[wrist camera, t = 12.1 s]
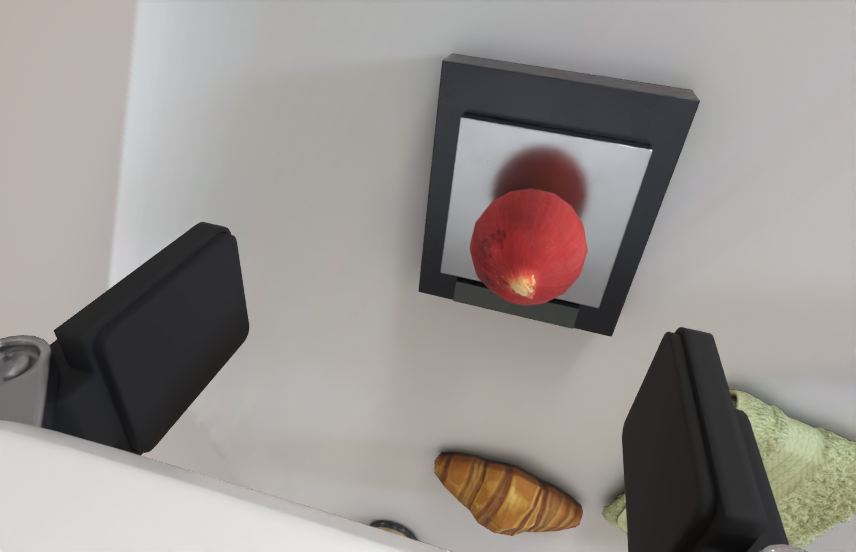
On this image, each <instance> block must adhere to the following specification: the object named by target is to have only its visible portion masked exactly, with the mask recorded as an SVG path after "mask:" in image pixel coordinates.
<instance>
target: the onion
mask: <svg viewBox="0 0 856 552" xmlns="http://www.w3.org/2000/svg"><path fill="white" fill-rule="evenodd" d="M587 251H588V249H587V242H586V236H585V229H584V226H583V223H582V222H581V220H580V218H579V217H578V215H577V214H576V212H575V211H574V209H573V207H572V206H571V205H569V204H568V203H567V202H565V201H564V200H563V199H561V198H560V197H558V196H557V195H556V194H554V193H551V192H546V191H542V190H537V189H532V188H530V189H523V190H516V191H510V192H508V193H507V194H505V195H503V196H501V197H499V198H497V199H495V200H493V202H492V203H491V204H490V205H489V206H488V207H487V208H486V210H485V211H484V212H483V213H482V215H481V216H480V217H479V218H478V220H477V221H476V222H475V226H474V230H473V234H472V238H471V242H470V253H471V257H472V261H473V265H474V268H475V272H476V275H477V277H478V278H479V279H480V280H481V281H482V282H483V283H484V284H485V285H486V286H487V287H488V288H489V289H490V290H491V291H492V292H494V293H495V294H497V295H498V296H500V297H502V298H503V299H505V300H507V301H508V302H510V303H514V304H520V305H526V306H528V305H535V304H542V303H546V302H548V301H550V300H552V299H554V298H556V297H558V296H561V295H563V294H565V292H566V291H567V290H568V289H569V288H570V287H571V286H572V284H573V283H574V282H575V281H576V280H577V279H578V277H579V276H580V274H581V272H582V269H583V265H584V262H585V258H586V255H587Z"/></svg>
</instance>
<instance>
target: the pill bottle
mask: <svg viewBox="0 0 856 552" xmlns="http://www.w3.org/2000/svg"><path fill="white" fill-rule="evenodd" d="M370 526H372V527H375V528H378V529H381V530H385V531H388V532H391V533H394V534H397V535H400V536H404V537H407V538H410V539H413V540H416V541H417V539H416V538H415V537H414V535H413V534H412V533H411V532H410V531H408V530H407V529H406V528H404V527H403V526H401V525H398V524H395V523H392V522H387V521H382V522H375V523H373V524H371V525H370Z"/></svg>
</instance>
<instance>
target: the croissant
mask: <svg viewBox="0 0 856 552" xmlns="http://www.w3.org/2000/svg"><path fill="white" fill-rule="evenodd" d="M435 474H436V475H437V477H438V478H439V479H440V481H441V482H442V483H443V485H444V486H445V487H446V488H447V489H448V490H449V491H450V492H451V493H452V494H453V495H454V496H455V497H456V498H457V499H458V500H459V501H460V502H461V503H462V504H463V505H464V506H465V507H467V508H468V509H469V510H470V511H471V513H472V514H473V516H474V518H475V519H476V521H477V522H478V523H479V524H481V525H483V526H484V527H486V528H487V529H489V530H490V531H492V532H494V533H499V534H505V535H511V536H513V535H516V534H519V533H522V532H548V531H560V530H564V529H568V528H573V527H576V526H577V525H579V524H580V521H581V518H582V514H583V510H582V506H581V505H580V504H579V503H578V502H577V501H576V500H574V499H573V498H572V497H571V496H570V495H568V494H567V493H565V492H564V491H562V490H560V489H559V488H557V487H556V486H554V485H552V484H549V483H546V482H543V481H541V480H540V479H538V478H537V477H535V476H533V475H532V474H530V473H528V472H526V471H524V470H523V469H521V468H519V467H517V466H513V465H509V464H505V463H500V462H495V461H489V460H485V459H483V458H481V457H478V456H474V455H468V454H463V453H457V452H441V453H440V455H439V456H438V457H437V459H436V460H435Z"/></svg>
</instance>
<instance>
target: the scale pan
mask: <svg viewBox="0 0 856 552" xmlns="http://www.w3.org/2000/svg"><path fill="white" fill-rule="evenodd" d="M652 152H653V150H652V146H650V145H644V144H638V143H632V142H627V141H621V140H615V139H609V138H603V137H597V136H592V135H586V134H580V133H574V132H568V131H562V130H557V129H551V128H545V127H539V126H533V125H527V124H522V123H516V122H510V121H504V120H498V119H492V118H487V117H481V116H475V115H469V114H463V115H462V116H461V118H460V124H459V132H458V140H457V148H456V156H455V163H454V171H453V179H452V187H451V194H450V202H449V210H448V218H447V226H446V233H445V241H444V249H443V257H442V264H441V273H445V274H449V275H454V276H458V277H463V278H467V279H472V280H476V281H480V282H482V281H481V280H480V279H479V278H478V277H477V275H476V272H475V268H474V265H473V261H472V257H471V253H470V242H471V238H472V234H473V230H474V226H475V222H476V221H477V220H478V218H479V217H480V216H481V215H482V213H483V212H484V211H485V210H486V208H487V207H488V206H489V205H490V204H491V203H492V202H493V200H495V199H497V198H499V197H501V196H503V195H505V194H507V193H508V192H510V191H516V190H523V189H530V188H532V189H537V190H542V191H546V192H551V193H554V194H556V195H557V196H558V197H560V198H561V199H563V200H564V201H565V202H567V203H568V204H569V205H571V206H572V207H573V209H574V211H575V212H576V214H577V215H578V217H579V218H580V220H581V222H582V223H583V226H584V229H585V236H586V242H587V249H588V251H587V255H586V258H585V262H584V265H583V269H582V272H581V274H580V276H579V277H578V279H577V280H576V281H575V282H574V283H573V284H572V286H571V287H570V288H569V289H568V290H567V291H566V292H565V294H563V295H561V296H558V297H556V299H560V300H565V301H569V302H574V303H578V304H583V305H587V306H592V307H596V308H599V306H600V303H601V300H602V297H603V294H604V292H605V289H606V286H607V283H608V280H609V277H610V274H611V271H612V268H613V265H614V262H615V260H616V257H617V254H618V251H619V248H620V245H621V242H622V239H623V236H624V233H625V231H626V228H627V225H628V222H629V219H630V216H631V213H632V210H633V207H634V204H635V201H636V199H637V196H638V193H639V190H640V187H641V184H642V181H643V178H644V175H645V172H646V169H647V167H648V164H649V161H650V158H651V155H652Z"/></svg>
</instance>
